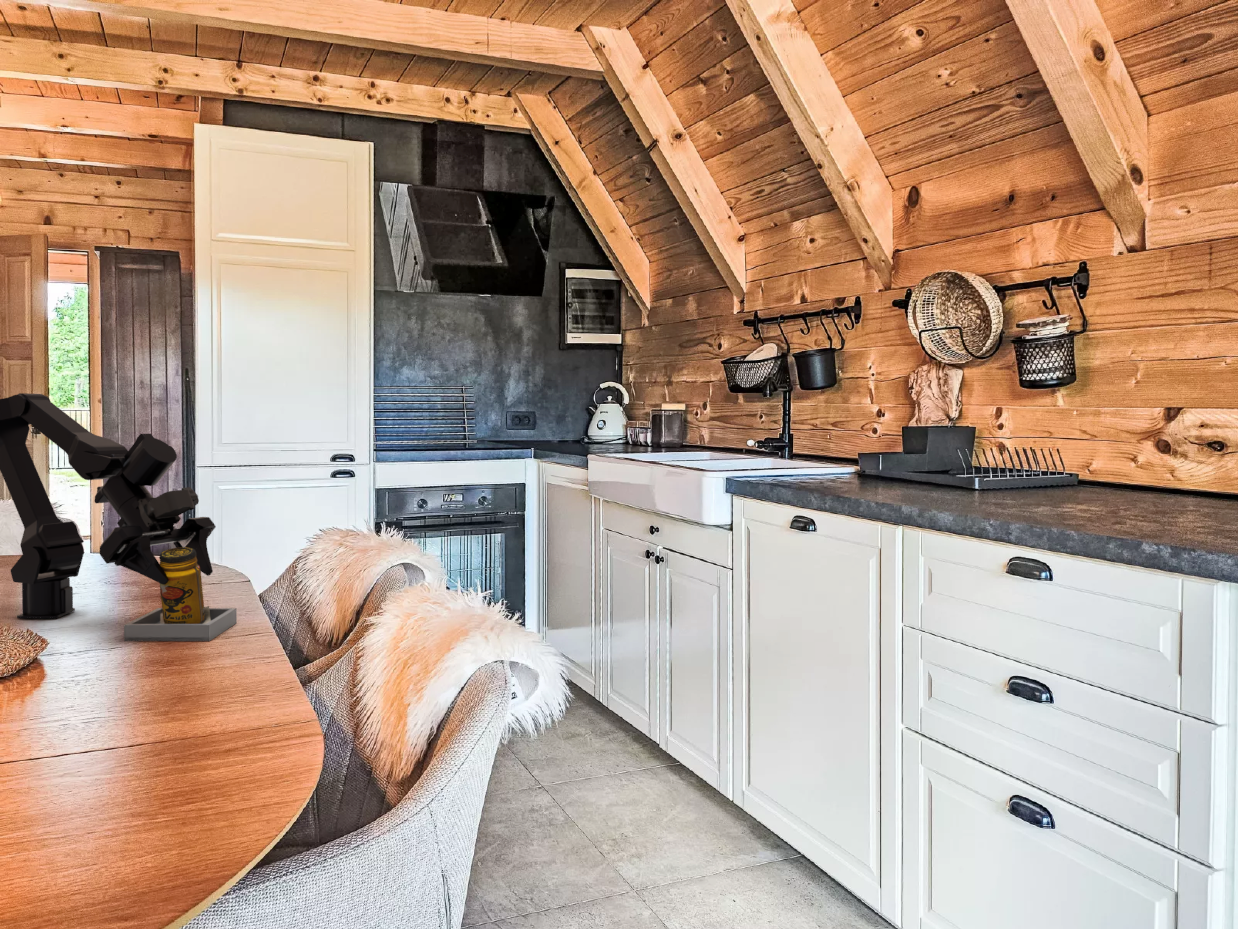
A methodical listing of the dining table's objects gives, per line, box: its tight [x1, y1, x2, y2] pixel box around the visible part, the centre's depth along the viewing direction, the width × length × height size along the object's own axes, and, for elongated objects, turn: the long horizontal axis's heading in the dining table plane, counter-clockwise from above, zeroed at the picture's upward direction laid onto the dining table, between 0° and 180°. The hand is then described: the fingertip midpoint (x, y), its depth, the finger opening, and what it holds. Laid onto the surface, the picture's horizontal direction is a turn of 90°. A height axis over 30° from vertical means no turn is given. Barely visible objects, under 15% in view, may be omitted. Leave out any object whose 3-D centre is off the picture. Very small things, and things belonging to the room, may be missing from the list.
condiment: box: [158, 547, 211, 624], centre depth 148 cm, size 7×8×12 cm
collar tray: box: [123, 607, 238, 642], centre depth 149 cm, size 13×13×2 cm
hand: (189, 578), depth 148 cm, fingers open, 9 cm apart
